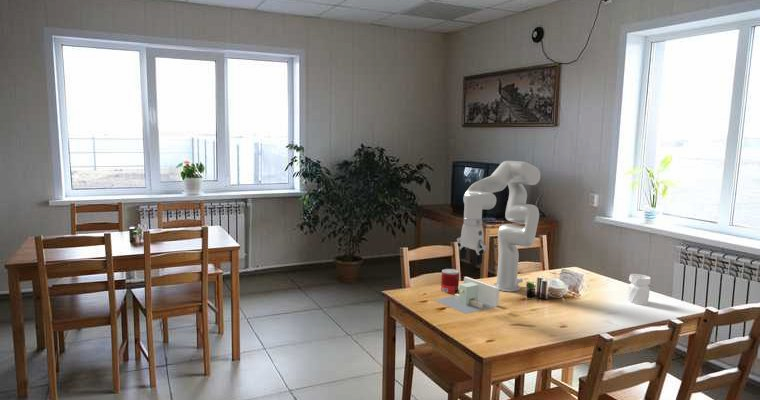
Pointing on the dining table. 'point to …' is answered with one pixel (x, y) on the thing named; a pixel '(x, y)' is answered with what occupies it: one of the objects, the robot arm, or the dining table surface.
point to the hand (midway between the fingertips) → (470, 261)
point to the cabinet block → (468, 292)
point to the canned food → (450, 281)
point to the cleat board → (461, 306)
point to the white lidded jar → (639, 289)
